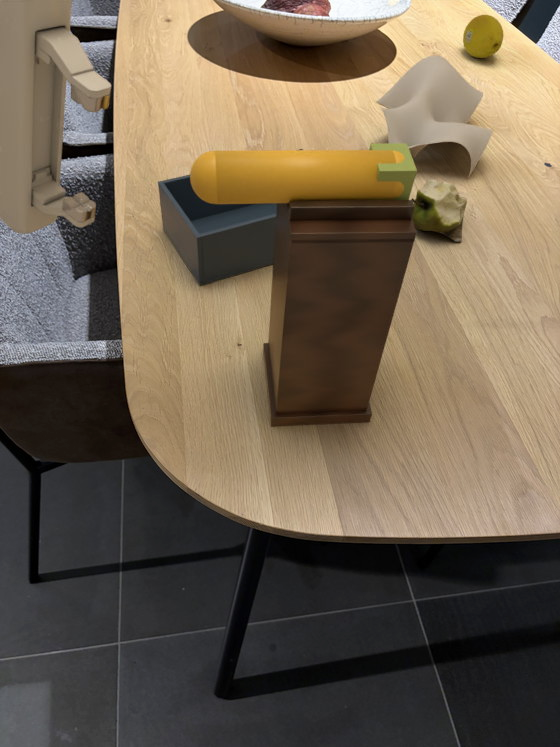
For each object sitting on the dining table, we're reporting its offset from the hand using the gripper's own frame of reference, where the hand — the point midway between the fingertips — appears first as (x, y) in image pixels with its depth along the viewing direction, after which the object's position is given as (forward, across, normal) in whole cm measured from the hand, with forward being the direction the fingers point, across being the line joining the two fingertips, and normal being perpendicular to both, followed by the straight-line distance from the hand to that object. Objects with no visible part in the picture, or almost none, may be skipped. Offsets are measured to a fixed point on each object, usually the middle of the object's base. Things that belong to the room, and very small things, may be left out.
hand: (95, 163), depth 41 cm
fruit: (+15, -21, +56) cm, 62 cm away
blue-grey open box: (-4, -28, +37) cm, 47 cm away
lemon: (-5, -18, +119) cm, 121 cm away
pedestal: (+18, -25, +19) cm, 36 cm away
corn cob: (+10, -2, +14) cm, 17 cm away
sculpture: (+2, -21, +79) cm, 82 cm away
